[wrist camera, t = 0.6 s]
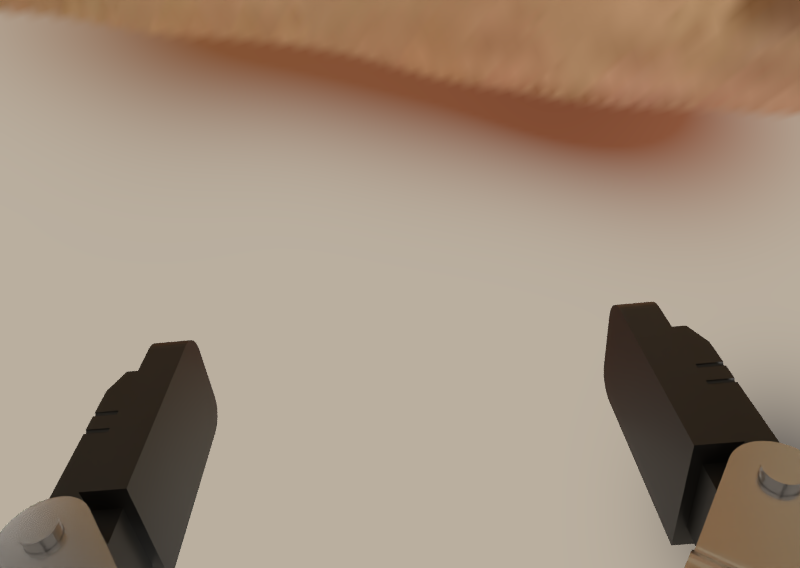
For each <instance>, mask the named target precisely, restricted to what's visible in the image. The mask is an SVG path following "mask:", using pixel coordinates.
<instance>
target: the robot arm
mask: <svg viewBox="0 0 800 568" xmlns="http://www.w3.org/2000/svg"><path fill="white" fill-rule="evenodd" d="M604 381H605V388H606V392H607V395H608V399H609V401H610V404H611V406H612V408H613V411H614V413H615V415H616V418H617V420H618V422H619V425H620V427H621V429H622V432H623V434H624V436H625V439H626V441H627V443H628V446H629V448H630V450H631V452H632V455H633V457H634V459H635V462H636V464H637V466H638V469H639V471H640V473H641V476H642V478H643V480H644V483H645V485H646V487H647V490H648V492H649V494H650V496H651V499H652V501H653V504H654V506H655V508H656V511H657V513H658V515H659V518H660V520H661V522H662V524H663V527H664V529H665V531H666V534H667V536H668V539H669V541H670V543H671V545H681V544H695V546H696V547H695V550H692V551H691V553H690V555H689V558H688V560H687V563H686V565H685V568H800V450H799V449H796V448H794V447H792V446H789V445H785V444H782V443H779V441H778V440H777V438H776V437H775V435H774V434H773V433H772V431H771V430H770V428H769V427H768V425H767V424H766V423H765V421H764V420H763V418H762V417H761V415H760V414H759V412H758V411H757V410H756V408H755V407H754V405H753V404H752V402H751V401H750V400H749V398H748V397H747V395H746V394H745V393H744V391H743V390H742V388H741V387H740V385H739V384H738V382H735V381H734V377H733V375H732V374H731V372H730V371H729V369H728V368H727V367H726V366H724V365H723V361H722V360H721V358H720V357H719V355H718V354H717V352H716V351H715V350H714V348H713V347H712V345H711V344H710V342H709V341H707V340H706V339H704V338H703V337H701V336H700V335H699V334H697V333H696V332H694V331H693V330H691V329H690V328H689V327H687V326H676V327H671V325H670V323H669V322H668V320H667V319H666V317H665V316H664V314H663V312H662V311H661V309H660V308H659V306H658V305H657V304H656V303H655V302H644V303H633V304H621V305H614V306H612V308H611V311H610V316H609V326H608V334H607V344H606V353H605V362H604ZM95 413H96V416H95V417H93V418H92V419H91V421H90V423H89V425H88V427H87V429H86V434H84V435H83V436H82V438H81V440H80V442H79V444H78V446H77V448H76V449H75V451H74V453H73V455H72V457H71V459H70V461H69V463H68V465H67V467H66V468H65V470H64V472H63V474H62V476H61V478H60V480H59V481H58V483H57V485H56V487H55V489H54V491H53V493H52V495H51V496H50V498H49V499H47V500H44V501H41V502H39V503H36V504H34V505H32V506H30V507H29V508H27V509H25V510H24V511H22V512H21V513H20V514H18V515H17V516H16V517H14V518H13V519H12V520H11V521H10V522H9V523H8V524H7V525H6V526H5V527H4V528H3V530H2V531H1V532H0V568H175V565H176V562H177V559H178V555H179V552H180V549H181V545H182V542H183V539H184V535H185V532H186V528H187V525H188V521H189V518H190V515H191V511H192V508H193V505H194V502H195V498H196V494H197V492H198V488H199V485H200V481H201V478H202V474H203V471H204V468H205V465H206V461H207V458H208V455H209V451H210V448H211V445H212V441H213V438H214V435H215V431H216V426H217V405H216V400H215V396H214V393H213V390H212V387H211V384H210V381H209V378H208V375H207V372H206V369H205V366H204V363H203V360H202V357H201V354H200V351H199V348H198V346H197V344H196V343H195V342H194V341H192V340H190V341H178V342H166V343H156V344H152V345H151V347H150V348H149V350H148V352H147V354H146V356H145V358H144V360H143V362H142V364H141V366H140V368H139V370H138V371H132V372H126V373H125V374H124V375H123V376H122V377H121V378H120V379H119V380H118V381H117V382H116V383H115V384H114V385H113V386H111V387H110V388H109V389H108V390H107V392H106V393H105V395H104V397H103V399H102V401H101V402H100V404H99V406H98V408H97V410H96V412H95Z"/></svg>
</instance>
